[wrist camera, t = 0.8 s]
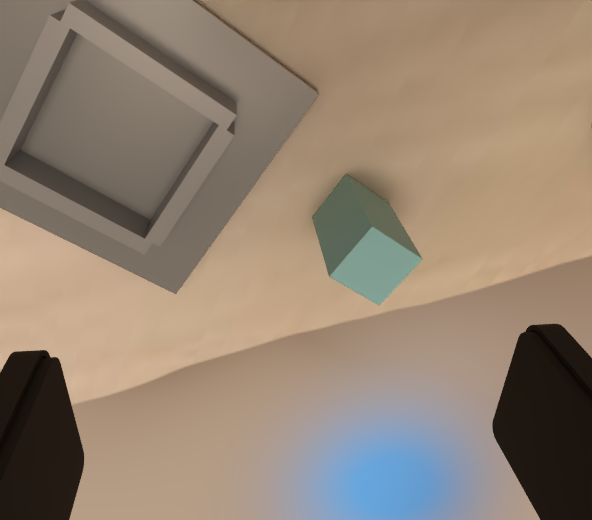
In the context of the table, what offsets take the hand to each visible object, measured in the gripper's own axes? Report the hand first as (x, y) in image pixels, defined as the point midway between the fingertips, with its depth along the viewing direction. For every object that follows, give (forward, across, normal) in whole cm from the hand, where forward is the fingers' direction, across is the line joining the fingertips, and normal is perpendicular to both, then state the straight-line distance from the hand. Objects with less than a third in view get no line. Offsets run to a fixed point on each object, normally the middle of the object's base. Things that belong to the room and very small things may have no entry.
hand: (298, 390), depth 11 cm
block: (+30, -8, +10) cm, 33 cm away
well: (+30, +9, +3) cm, 32 cm away
